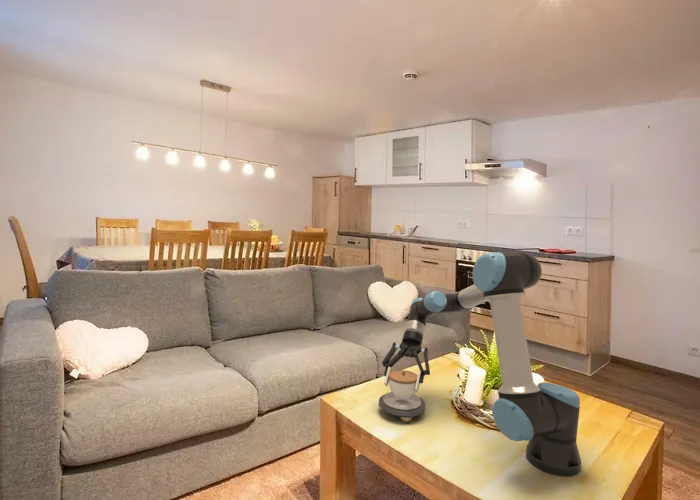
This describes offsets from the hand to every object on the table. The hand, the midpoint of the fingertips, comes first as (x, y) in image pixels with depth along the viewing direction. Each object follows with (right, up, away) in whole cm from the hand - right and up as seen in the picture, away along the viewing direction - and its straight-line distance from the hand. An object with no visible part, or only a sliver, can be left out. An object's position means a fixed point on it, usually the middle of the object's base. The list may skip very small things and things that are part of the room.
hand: (400, 387), depth 151 cm
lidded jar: (+1, -4, +3) cm, 5 cm away
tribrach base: (+1, -10, +4) cm, 11 cm away
